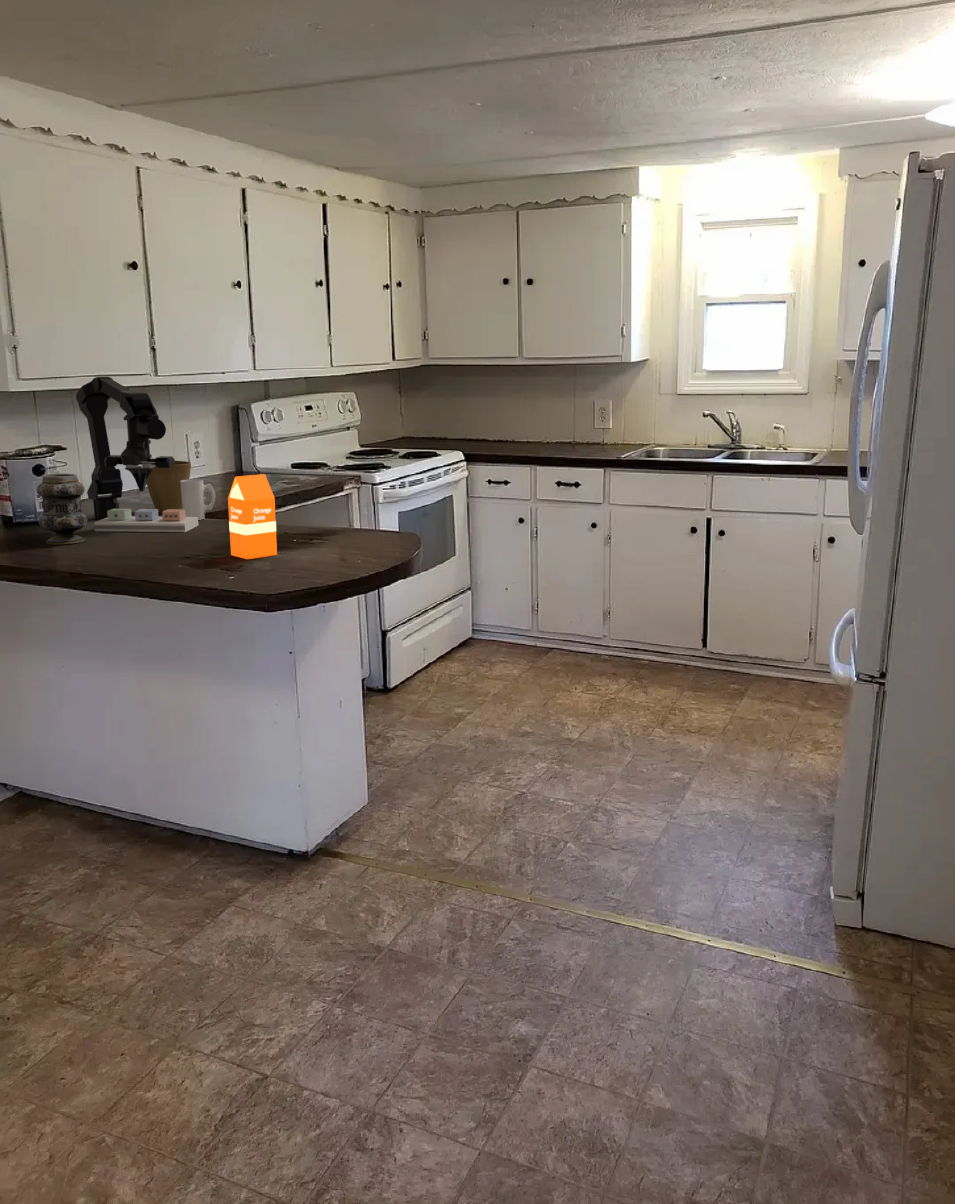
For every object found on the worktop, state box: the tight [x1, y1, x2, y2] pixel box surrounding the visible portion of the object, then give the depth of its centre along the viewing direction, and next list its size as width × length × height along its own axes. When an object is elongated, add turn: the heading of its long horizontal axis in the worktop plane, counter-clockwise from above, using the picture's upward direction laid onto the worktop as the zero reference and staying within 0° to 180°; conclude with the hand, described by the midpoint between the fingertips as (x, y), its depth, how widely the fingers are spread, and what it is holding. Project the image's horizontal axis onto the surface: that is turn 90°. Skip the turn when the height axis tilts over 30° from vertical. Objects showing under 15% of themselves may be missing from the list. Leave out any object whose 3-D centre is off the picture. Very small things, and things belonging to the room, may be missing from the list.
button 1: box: [107, 508, 133, 520], centre depth 284 cm, size 5×5×2 cm
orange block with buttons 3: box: [161, 508, 186, 521], centre depth 284 cm, size 5×5×2 cm
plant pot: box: [146, 460, 192, 514], centre depth 313 cm, size 15×15×16 cm
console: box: [93, 515, 199, 533], centre depth 285 cm, size 26×12×2 cm, turn 88°
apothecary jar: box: [36, 473, 89, 546], centre depth 261 cm, size 12×12×18 cm
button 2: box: [134, 508, 160, 520], centre depth 284 cm, size 5×5×2 cm
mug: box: [180, 478, 216, 521], centre depth 300 cm, size 10×7×12 cm, turn 107°
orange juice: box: [227, 473, 278, 560], centre depth 245 cm, size 8×9×20 cm
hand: (142, 491), depth 285 cm, fingers closed
